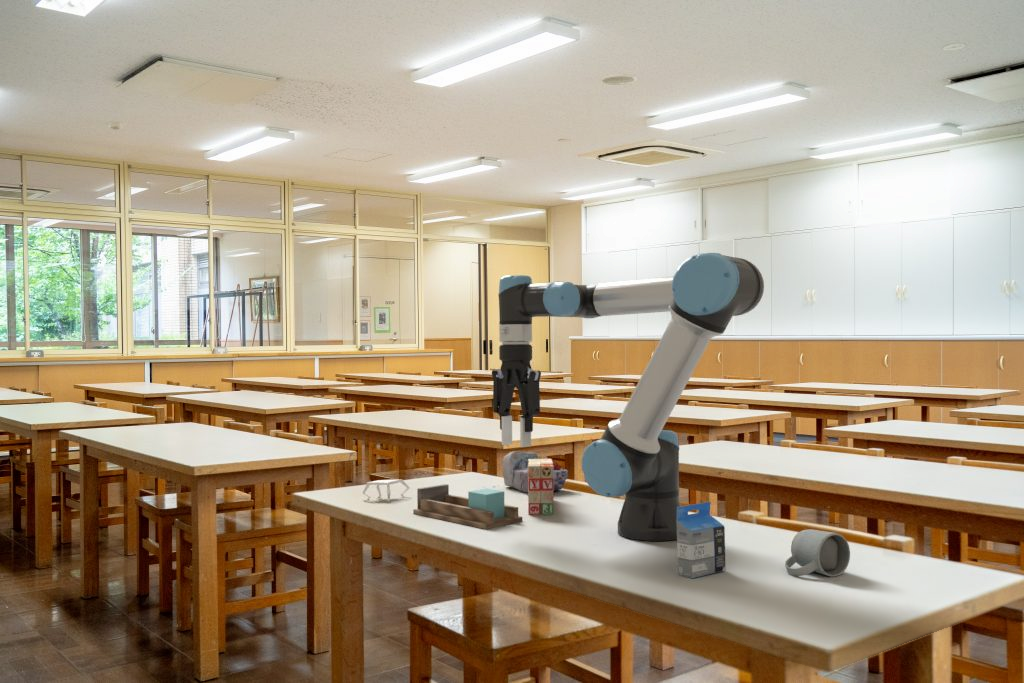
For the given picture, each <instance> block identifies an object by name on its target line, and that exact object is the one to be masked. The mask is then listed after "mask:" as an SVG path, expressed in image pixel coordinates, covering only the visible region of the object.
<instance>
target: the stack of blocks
mask: <svg viewBox="0 0 1024 683" xmlns="http://www.w3.org/2000/svg"><path fill="white" fill-rule="evenodd" d="M553 464H554V462H553V460H552V458H538V459H528V492H527V494H528V496H527V498H528V509H527V510H528V515H529V516H530V515H531V516H539V515H540V516H551V515H552V516H553V515H554V491H553V490H554V479H553V474H554V466H553Z"/></svg>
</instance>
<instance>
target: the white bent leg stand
mask: <svg viewBox="0 0 1024 683" xmlns="http://www.w3.org/2000/svg"><path fill="white" fill-rule="evenodd" d="M399 483H400V484H402V485H403V486H404V487H406V489H405V490H404V491H402V493H400V496H401V497H402V498H405V495H404V494H405V493H406V492H407V491H409V490H410V487H409V485H408V484H407V483H406V482H405V481H404V479H401V478H400V479H397V478H396V479H378V480H373V481H367V482H366V484H365V487H364V489H363V490H362V494H363V495H365V496H366V497H367V498H366V500H367V501H369V500H370V499H371V498H372V497H371V496H370V495H368V494H367V493H366V492H367V490H368V488H369V487H370V486H372V485H373V486H374V485H375V487H376V491H377V493H378V496H377V497H378V498H379V499H381V498H382V494H381V488H380V486H383V485H384V486H385V485H386V492H387V493H386V494H387V500H386V502H390V501H391V487H390V485H394V484H395V485H396V484H399Z"/></svg>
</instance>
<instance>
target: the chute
mask: <svg viewBox="0 0 1024 683" xmlns="http://www.w3.org/2000/svg"><path fill="white" fill-rule="evenodd" d="M449 486H450V485H449V484H447V483H444V484H437V485H430V486H426V487H419V488H417V495H416V496H417V504H416V505H417V508H414V509H413V513H412V514H414V515H419V516H422V517H427V518H428V517H429V518H432V519H436V520H441V521H446V522H451V523H456V524H461V525H465V526H468V525H469V527H473V526H474V527H475V528H479V529H482V528H483V530H488V529H489V530H490V529H492V528H493V527H494V528H498V527H502V526H508V525H510V524H516V523H521V522H523V516H520V515H519V506H513V505H508V504H504V517H501V518H497V519H494V512H491V511H486V510H480V509H475V508H470V507H469V506H468V497H466V496H465V497H463V496H459V495H453V494H449V489H450V488H449Z"/></svg>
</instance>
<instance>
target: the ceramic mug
mask: <svg viewBox="0 0 1024 683" xmlns="http://www.w3.org/2000/svg"><path fill="white" fill-rule="evenodd" d="M849 544H850V543H849V542H848V540H847V539H846V538H845V536H843V534H841V533H837V532H831V531H826V530H819V529H818V530H817V529H811V528H810V529H808V528H807V529H803V530H801V531H798V532H797V533H796V534H795V535H794V537H793V539H792V541H791V546H790V551H791V552H790V553H791V556H789V557H788V558H787V559H786V560H785V563H784V567H785V569H786V572H787V573H788V574H789V575H790V576H793V577H802V576H806V575H810V574H811V573H812V572H816V573H818V574H820V575H824V576H827V577H832V578H833V577H835V578H836V577H838V576H841V575H842V574H843V573H844V572H845V571H846V570H847V568H848V566H849V563H850V560H851V559H850V558H851V548H850V545H849ZM794 564H797V565H798V566H800V567H796V568H795V567H794V568H793V567H792V566H793V565H794Z"/></svg>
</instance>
